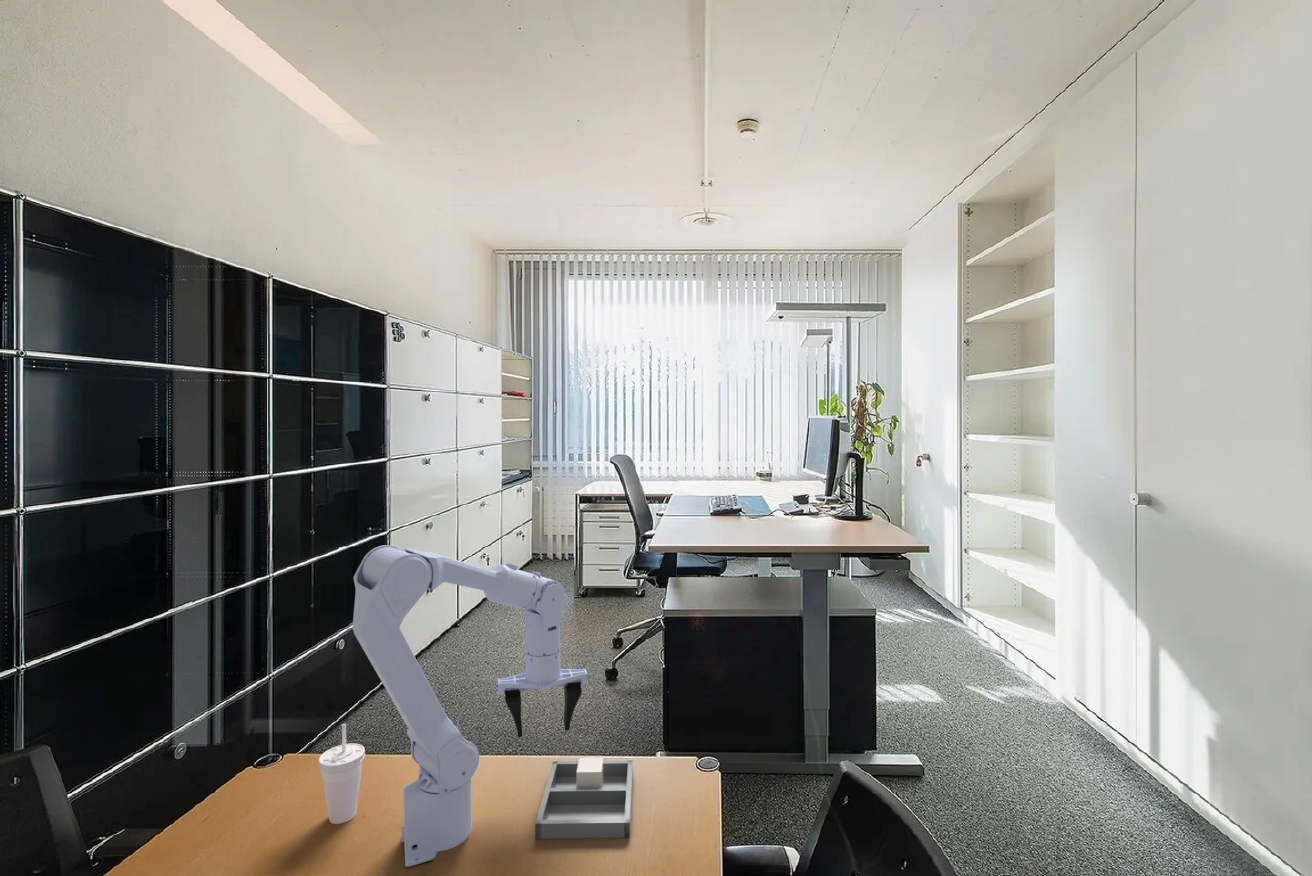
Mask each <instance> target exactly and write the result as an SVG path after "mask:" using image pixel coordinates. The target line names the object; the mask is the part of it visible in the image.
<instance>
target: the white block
mask: <svg viewBox="0 0 1312 876" xmlns="http://www.w3.org/2000/svg"><path fill="white" fill-rule="evenodd" d="M578 761H579V762H578V767H577V772H576V779H577V788H603V761H604V757H585V758H583V757H579V759H578Z"/></svg>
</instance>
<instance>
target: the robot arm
mask: <svg viewBox="0 0 1312 876" xmlns="http://www.w3.org/2000/svg"><path fill="white" fill-rule="evenodd" d="M518 567H519V566H518V564H517V565H516V564H514V563H510V562H507V563H506V565H505V564H498V565H496V566H494V567H493V568H491V569H486V568H482V567H481V566H480V567H479V566H476V565H474V564H470V563H468V562H464V561H461V560H458V559H454V558H452V557H449V556H445V555H442V554H439V553H436V552H430V551H424V550H419V549H413V548H403V550H401V549H400V548H398V547H396V546H393V545H389V544H387V545H386V544H385V545H379V546H377V547H374V548H372V549H371V550H369V551H368V552H367V553H366V554H365V555H364V557H363V559H362V560H361V563H360V564H359V566H358V567H357V569H356V571H355V573H354V576H353V583H354V587H355V596H354V604H353V605H354V606H353V615H352V616H353V617H352V618H353V619H352V630H353V634H354V636H355V638H356V640H357V641H358V643H359V644H360V646H361V648H362V650H363V652H364V653H365V656H366V657H367V659H368V661H369V662H370V664H371V666H372V667H373V669H374V671H375V672H376V675H377V676H378V678H379V679H380V682H381V683H382V685H383V686H384V688H385V690H386V692H387V693H388V695H389V697H390V699H391V700H392V702H393V703H394V706H395V708H396V710H397V711H398V713H399V715H400V716H401V718H402V720H403V722H404V723H405V725H406V727H407V731H406V734H407V736H408V737H409V740H410V743H411V744H410V753H411V758H412V759H413V761H414V762H415V763H416V764H417V765H419V767H418V768H419V769H418V771H419V773H418V778H417V779H416V780H415V781H413V782H411V783H408V784H406V785H403V826H402V827H401V843H404V865H405V867H406V868H409V867H413V866H417V865H420V864H423V863H427V862H430V861H433V860H435V857H436V856H437V854H438V852H443V851H449V850H450V849H453V848H455V847H457V846H459V845H461V844H462V843H464V842H465V840H467V838H469V836H470V834H471V833H472V777H473V776H474V774H475V773H476V771H477V769H478V766H479V762H480V752H479V750H478V746H476V744H474V743H472V742H470V740H468V739H465V738H464V737H463V734H462V733H461V731H460V730H459V729H458V727H457V726H456V725H455V724H454V723H453V722H452V720H451V719H450V718H449V717H448V715H447V714H446V712H445V710H444V708H443V707H442V705H441V703H440V701H439V699H438V697H437V695H436V694H435V691H434V690H433V688H432V686H431V684H430V682H429V681H428V679H427V677H426V675H425V672H424V671H423V669H422V667H421V665H420V664H419V662H418V660H417V659H416V656H415V654H414V652H413V650H412V649H411V647H410V645H409V643H408V642H407V640H406V638H405V636H404V634H403V632H402V630H401V625H402V623H403V620H404V619H405V617H406V616H407V615H408V614H409V613H410V611H411V610H412V609H413V607H414V606H416V603H418V601H419V600H420V599H421V598H422V596H423V595H424V594H425V592H426V591H427V590H430V591H434V590H435V589H437V588H438V587H439V586H441V585H442V584H443V583H448V584H452V585H457V586H462V587H466V588H471V589H475V590H480V591H483V593H484V596H485V598H486V599H487V600H488V601H489V602H491V603H494V604H495V603H497V604H500V605H502V606H503V605H504V606H508V607H511V608H517V609H521V610H524V620H525V621H524V628H525V629H524V630H525V632H524V633H525V636H524V637H525V638H524V643H525V645H524V646H525V647H524V648H525V651H524V652H525V655H524V656H525V659H524V660H525V672H523V673H518V674H515V675H510V676H508V677H502V678H501V677H500V678H498V679H497V695H498V696H503V695H504V701H505V704H506V706H507V709H508V710H509V712H510V713H511V717H512V719H513V721H514V723H515V728H516V731H517V732H516V733H517V738H523V725H522V697H521V693H522V692H524V691H533V690H538V691H539V692H543V691H549V690H552V688H555V687H563V690H564V691H563V693H564V697H563V698H564V707H563V708H564V710H563V711H564V712H563V727H564V731H565V732H566V731H567V732H568V731H570V729H571V728H570V727H571V722H572V717H573V715H574V711H575V708H576V706H577V704H578V702H579V700H580V698H581V695H582V692H583V691H582V686H586V685H588V672H587V669H586V668H581V669H578V668H577V669H572V668H571V669H569V668H567V669H566V668H561V621H562V619H563V618H562V616H563V611H564V610H565V608H566V605H567V602H568V598H569V597H568V595H569V594H566V592H565V589H564V588H565V587H564V586H563V585H562V584H561V582H559V581H558V580H557V581H556V580H554V579H551V578H547V577H545V576H542V574H541V572H538V571H531V572H527V571H525V570H521V569H518Z"/></svg>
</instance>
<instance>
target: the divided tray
mask: <svg viewBox="0 0 1312 876" xmlns="http://www.w3.org/2000/svg"><path fill="white" fill-rule="evenodd" d="M578 762H579V760H572V761H571V760H566V761H565V760H563V761H562V760H561V761H560V760H559V761H558V760H556V761H553V760H552V764H551V766H550V770H549V771H550V772H549V773H548V778H547V782H546V785H545V789H544V792H543V796H542V799H541V803H540V806H539V809H538V812H537V815H536V820H535V822H534V827H535V828H534V830H535V831H534V832H535V833H534V834H535V835H534V837H535V838H534V839H535V840H567V839H568V840H569V839H570V840H571V839H572V840H579V839H580V840H581V839H586V840H587V839H588V840H589V839H630V838H631V821H632V801H633V800H632V799H633V778H634V777H633V776H634V765H633V764H634V762H633V760H603V788H577V779H576V772H577V767H578Z"/></svg>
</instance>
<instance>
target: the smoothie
mask: <svg viewBox="0 0 1312 876" xmlns="http://www.w3.org/2000/svg"><path fill="white" fill-rule="evenodd" d="M365 752H366V749H365V747H364V746H363V744H359V743H350V742H349V743H347V723H342V724H341V744H339V745H337V746H333V747H331V748H329V749H327V750H326V751H324V752H322V754H321V755H320V756H319V757H318V765H317V768H318V769H319V770H320V771H321V778H322V783H323V789H324V790H323V791H324V796H325V802H326V808H327V815H328V819H329V820H328V821H329V823H331V824H334V825H340V824H345V823H347V822H348V821H350V820H352V819H353V818H355V816H356V815H357V810H358V802H359V795H360V794H359V793H360V785H361V777H362V768H363V760H365V757H366V753H365Z"/></svg>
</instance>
